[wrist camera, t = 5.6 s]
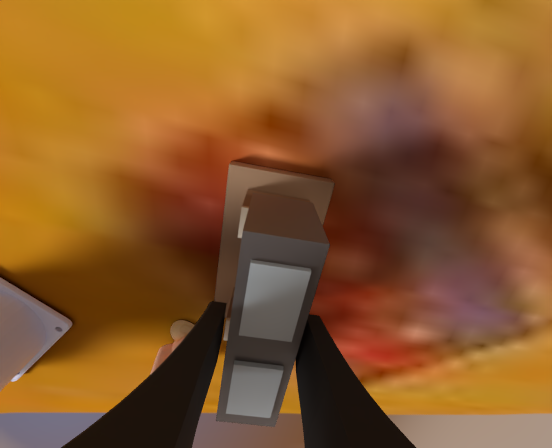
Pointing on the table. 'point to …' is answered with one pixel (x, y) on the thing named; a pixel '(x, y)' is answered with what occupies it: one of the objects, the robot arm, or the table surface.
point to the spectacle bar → (270, 306)
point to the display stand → (237, 203)
